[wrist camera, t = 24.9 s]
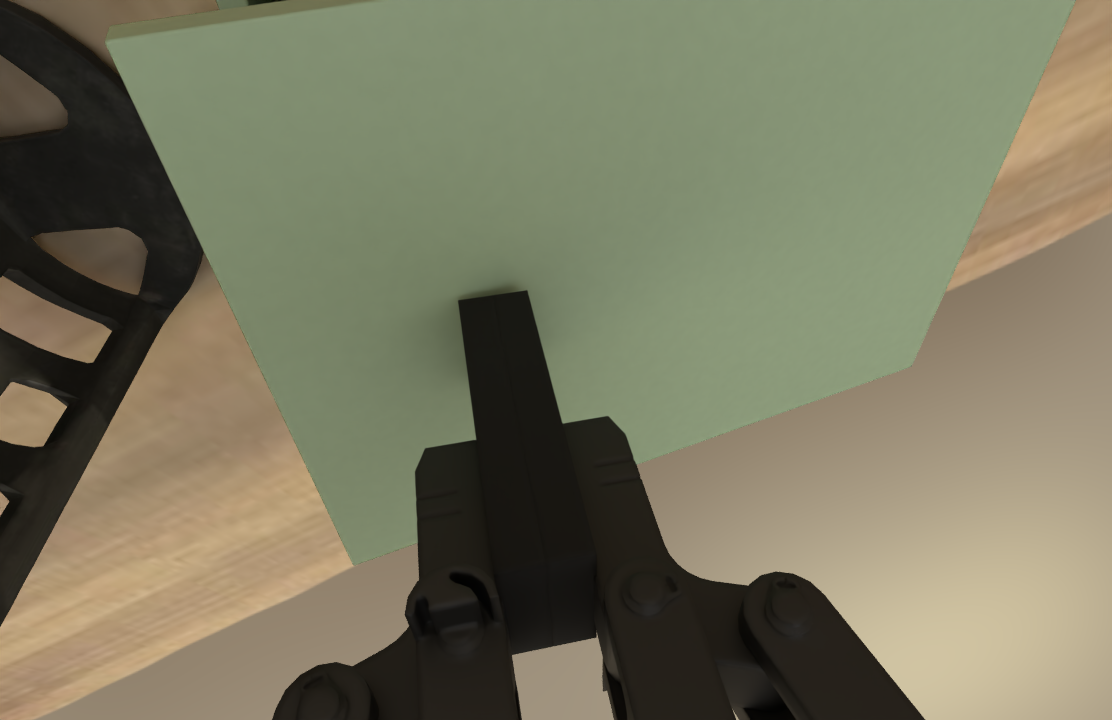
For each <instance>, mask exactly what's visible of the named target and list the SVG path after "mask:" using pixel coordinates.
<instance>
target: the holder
mask: <svg viewBox="0 0 1112 720" xmlns="http://www.w3.org/2000/svg"><path fill="white" fill-rule="evenodd" d="M0 55H2V56H3V57H4V58H6V59H7V60H9V61H10V62H11V63H13V64H14V65H16V66H17V67H18V68H20V69H21V70H22V71H24V72H25V73H27V74H28V75H29V76H31V77H32V78H33V79H35V80H36V81H37V82H39V83H40V84H41V85H43V86H44V87H45V88H47V89H48V90H49V91H51V92H52V93H53V94H55V95H56V96H57V97H58V98H59V99H60V101H61V102H62V104H63V105H64V107H65V109H66V110H67V112H68V125H67V126H66V127H65V128H63V129H58V130H52V131H45V132H39V133H33V134H27V135H20V136H14V137H8V138H1V139H0V277H1V276H2V275H3V276H4V277H6V278H8V279H9V280H11V281H13V282H14V283H16V284H18V285H19V286H21V287H23V288H25V289H26V290H28V291H30V292H32V293H34V294H35V295H37V296H39V297H41V298H43V299H45V300H47V301H49V302H51V303H53V304H55V305H58V306H60V307H62V308H65V309H67V310H69V311H72V312H74V313H76V314H79V315H81V316H83V317H86V318H88V319H91V320H93V321H96V322H99V323H101V324H103V325H104V326H106V327H107V328H109V329H110V330H111V331H112V332H111V334H110V336H109V337H108V339H107V341H106V342H105V344H104V346H103V348H102V349H101V351H100V353H99V354H98V356H97V358H96V359H95V361H94V362H93V363H85V362H81V361H77V360H73V359H69V358H66V357H62V356H60V355H57V354H54V353H52V352H49V351H46V350H43V349H41V348H38V347H36V346H34V345H32V344H30V343H28V342H26V341H24V340H22V339H20V338H18V337H16V336H14V335H11V334H9V333H7V332H5V331H4V330H2V329H1V328H0V396H1V395H2V393H3V392H4V391H5V389H6V388H7V386H8V385H9V384H10V382H16V383H19V384H22V385H25V386H28V387H32V388H35V389H38V390H41V391H45V392H48V393H50V394H51V395H53V396H54V397H55V398H57V399H58V400H59V401H61V402H62V403H63V404H65V405H66V406H67V408H66V410H65V411H64V413H63V415H62V416H61V418H60V419H59V421H58V423H57V424H56V426H55V427H54V429H53V431H52V433H51V434H50V436H49V438H48V439H47V441H46V443H45V444H44V446H43V447H28V446H22V445H15V444H11V443H8V442H5V441H2V440H0V492H1V493H2V494H3V495H4V496H5V497H6V498H7V499H8V500H9V503H8V505H7V506H6V508H5V510H4V511H3V513H2V515H1V516H0V626H1V624H2V623H3V621H4V619H5V617H6V616H7V614H8V612H9V610H10V608H11V607H12V605H13V603H14V601H15V599H16V597H17V595H18V593H19V591H20V589H21V588H22V586H23V584H24V582H25V580H26V578H27V576H28V575H29V573H30V571H31V569H32V567H33V566H34V564H35V562H36V560H37V558H38V556H39V554H40V552H41V550H42V549H43V547H44V545H45V543H46V541H47V539H48V537H49V536H50V534H51V532H52V530H53V528H54V526H55V524H56V522H57V521H58V519H59V517H60V515H61V513H62V511H63V509H64V507H65V505H66V504H67V502H68V500H69V498H70V496H71V495H72V493H73V491H74V489H75V487H76V485H77V484H78V482H79V480H80V478H81V476H82V474H83V473H84V471H85V469H86V467H87V465H88V463H89V461H90V460H91V458H92V456H93V454H94V452H95V450H96V448H97V447H98V445H99V443H100V441H101V439H102V437H103V435H104V433H105V432H106V430H107V428H108V426H109V424H110V422H111V420H112V418H113V416H114V415H115V413H116V411H117V409H118V407H119V405H120V403H121V402H122V400H123V398H124V396H125V394H126V392H127V390H128V389H129V387H130V385H131V383H132V381H133V379H134V377H135V376H136V374H137V372H138V370H139V368H140V366H141V364H142V363H143V361H144V359H145V357H146V355H147V353H148V351H149V349H150V347H151V345H152V343H153V342H154V340H155V338H156V336H157V334H158V333H159V331H160V329H161V327H162V326H163V324H164V322H165V321H166V320H167V318H168V317H169V315H170V314H171V313H172V311H173V310H174V308H175V307H176V306H177V304H178V303H179V302H180V300H181V299H182V298H183V297H184V295H185V294H186V293H187V292H188V290H189V289H190V287H191V285H192V283H193V281H194V279H195V277H196V274H197V272H198V269H199V266H200V264H201V260H202V256H203V252H204V250H203V248H202V246H201V244H200V242H199V240H198V238H197V236H196V234H195V231H194V229H193V227H192V225H191V223H190V221H189V219H188V217H187V215H186V213H185V210H184V208H183V206H182V204H181V202H180V200H179V198H178V196H177V194H176V192H175V189H174V187H173V185H172V183H171V181H170V179H169V177H168V175H167V173H166V171H165V168H164V166H163V164H162V162H161V160H160V158H159V156H158V154H157V152H156V150H155V147H154V145H153V143H152V141H151V139H150V137H149V135H148V133H147V131H146V128H145V126H144V124H143V122H142V120H141V118H140V116H139V114H138V112H137V110H136V107H135V105H134V103H133V101H132V99H131V97H130V95H129V93H128V91H127V89H126V86H125V84H124V82H123V80H122V79H121V78H120V77H119V76H118V75H117V74H116V73H114V72H113V71H112V70H111V69H110V68H109V67H108V66H107V65H106V64H104V63H103V62H102V61H101V60H100V59H99V58H98V57H97V56H96V55H95V54H93V53H92V52H91V51H90V50H89V49H88V48H86V47H85V46H84V45H82V44H81V43H79V42H78V41H76V40H75V39H74V38H72V37H71V36H69V35H68V34H66V33H65V32H64V31H62V30H61V29H59V28H58V27H56V26H55V25H53V24H52V23H50V22H49V21H47V20H46V19H45V18H43V17H42V16H40V15H38V14H36V13H34V12H32V11H29V10H27V9H25V8H23V7H21V6H19V5H17V4H15V3H13V2H11V1H9V0H0ZM113 227H120V228H124V229H128V230H129V231H131V232H132V233H134V234H135V235H137V236H139V237H140V238H142V240H143V242H144V244H145V246H146V248H147V250H148V253H147V260H146V266H145V272H144V276H143V281H142V284H141V288H140V291H139V295H134V294H130V293H126V292H123V291H120V290H117V289H113V288H111V287H108V286H106V285H103V284H101V283H98V282H96V281H94V280H92V279H90V278H88V277H86V276H84V275H82V274H80V273H78V272H76V271H75V270H73V269H71V268H69V267H68V266H66V265H64V264H63V263H61V262H60V261H58V260H57V259H56V258H54V257H53V256H51V255H50V254H48V253H47V252H45V251H44V250H42V249H41V248H40V247H39V246H38V245H37V244H36V242H35V241H34V240H33V239H32V238H31V237H33V236H35V235H38V234H41V233H49V232H60V231H71V230H84V229H100V228H113Z"/></svg>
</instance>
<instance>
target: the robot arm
mask: <svg viewBox="0 0 1112 720" xmlns="http://www.w3.org/2000/svg"><path fill="white" fill-rule="evenodd" d="M458 305H459V313H460V320H461V328H462V336H463V343H464V351H465V358H466V366H467V374H468V381H469V389H470V396H471V404H472V412H473V419H474V427H475V434H476V440H471V441H465V442H459V443H453V444H447V445H441V446H435V447H429V448H425V449H424V452H423V454H422V456H421V459H420V461H419V463H418V466H417V468H416V470H415V488H416V513H417V538H418V562H419V581H417V583H416V585H415V586H414V588H413V590H412V591H411V593H410V594H409V596H408V599H407V605H406V610H405V616H406V619H407V621H408V624H409V627H408V628H407V630H406V631H405V632H404V633H403V634H402V635H401V636H400V637H399V638H398V639H397V640H396V641H395V642H393V643H392V644H390V645H389V646H388V647H386V648H385V649H383V650H381V651H379V652H378V653H376V654H374V655H372V656H370V657H368V658H367V659H365V660H363V661H361V662H360V663H358V664H356V665H354V666H348V665H345V664H341V663H337V662H334V663H328V664H322V665H318V666H316V667H314V668H312V669H310V670H308V671H307V672H305V673H303V674H301V675H300V676H299V677H298V678H297V679H296V680H295V681H294V682H293V683H292V684H291V685H290V686H289V687H288V688H287V689H286V690H285V692H284V694H283V696H282V698H281V700H280V702H279V704H278V706H277V708H276V710H275V713H274V716H273V719H272V720H522V718H521V711H520V704H519V697H518V691H517V686H516V681H515V674H514V667H513V661H512V655H514V654H519V653H523V652H528V651H532V650H538V649H542V648H548V647H552V646H557V645H562V644H567V643H572V642H576V641H581V640H586V639H591V638H596V630H597V634H598V638H599V643H600V647H601V651H602V655H603V675H602V677H603V691H608V695H609V700H610V704H611V708H612V713H613V717H614V720H736V718H735V715H734V713H733V710H734V712H735V714H736V715H737V717H738V719H739V720H925V719H924V718H923V717H922V715H921V714H920V713H919V712H918V710H917V709H916V708H915V706H914V705H913V704H912V703H911V702H910V700H909V699H908V698H907V697H906V695H905V694H904V693H903V692H902V691H901V689H900V688H899V687H898V685H897V684H896V683H895V682H894V680H893V679H892V678H891V677H890V676H889V674H888V673H887V672H886V671H885V669H884V668H883V667H882V666H881V664H880V663H879V662H878V661H877V659H876V658H875V657H874V656H873V654H872V653H871V652H870V651H869V650H868V648H867V647H866V646H865V645H864V643H863V642H862V641H861V640H860V639H859V637H858V636H857V635H856V634H855V632H854V631H853V630H852V629H851V627H850V626H849V625H848V624H847V622H846V621H845V620H844V619H843V618H842V616H841V615H840V614H839V612H838V611H837V610H836V609H835V608H834V606H833V605H832V604H831V602H830V601H829V600H828V599H827V597H826V596H825V595H824V594H823V593H822V592H821V591H820V590H819V589H817V588H816V587H815V586H814V585H813V584H812V583H811V582H809V581H808V580H805V579H803V578H801V577H799V576H797V575H795V574H791V573H783V572H773V573H769V574H764V575H761V576H759V577H758V578H757V579H756V580H754V581H753V582H752V583H751V584H749V586H747V585H738V584H731V583H723V582H715V581H710V580H706V579H702V578H699V577H697V576H695V575H692V574H690V573H688V572H687V571H686V570H684V569H683V568H682V567H680V566H679V565H678V564H677V563H676V562H675V561H674V559H673V558H672V557H671V556H670V555H669V553H668V551H667V549H666V547H665V545H664V542H663V539H662V536H661V534H660V531H659V528H658V525H657V522H656V519H655V516H654V514H653V511H652V508H651V505H650V502H649V500H648V496H647V494H646V491H645V488H644V485H643V482H642V480H641V479H640V474H639V471H638V468H637V465H636V462H635V461H634V458H633V454H632V451H631V448H630V445H629V442H628V440H627V437H626V434H625V433H624V432H623V431H622V430H621V429H620V428H619V427H618V426H617V425H616V424H615V422H614V421H613V420H612V419H611V418H610V417H609V416H604V417H598V418H592V419H586V420H581V421H575V422H569V423H563V424H562V420H561V416H560V412H559V408H558V405H557V401H556V397H555V393H554V389H553V386H552V382H551V378H550V374H549V370H548V367H547V363H546V359H545V355H544V351H543V348H542V344H541V340H540V336H539V332H538V329H537V325H536V321H535V317H534V313H533V310H532V306H531V302H530V298H529V295H528V291H527V290H525V291H518V292H511V293H504V294H498V295H491V296H484V297H477V298H470V299H463V300H458ZM732 709H733V710H732Z"/></svg>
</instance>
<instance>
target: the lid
mask: <svg viewBox="0 0 1112 720" xmlns="http://www.w3.org/2000/svg"><path fill="white" fill-rule="evenodd" d="M1075 1H1076V0H286V1H279V2H272V3H265V4H258V5H251V6H244V7H237V8H230V9H223V10H216V11H209V12H202V13H195V14H188V15H181V16H174V17H167V18H160V19H153V20H146V21H139V22H132V23H125V24H118V25H112V26H110V27H109V30H108V33H107V36H106V39H105V44H106V47H107V49H108V51H109V53H110V55H111V57H112V59H113V61H114V63H115V65H116V68H117V70H118V72H119V74H120V76H121V78H122V80H123V82H124V84H125V86H126V89H127V91H128V93H129V95H130V97H131V99H132V101H133V103H134V105H135V107H136V110H137V112H138V114H139V116H140V118H141V120H142V122H143V124H144V126H145V128H146V131H147V133H148V135H149V137H150V139H151V141H152V143H153V145H154V147H155V150H156V152H157V154H158V156H159V158H160V160H161V162H162V164H163V166H164V168H165V171H166V173H167V175H168V177H169V179H170V181H171V183H172V185H173V187H174V189H175V192H176V194H177V196H178V198H179V200H180V202H181V204H182V206H183V208H184V210H185V213H186V215H187V217H188V219H189V221H190V223H191V225H192V227H193V229H194V231H195V234H196V236H197V238H198V240H199V242H200V244H201V246H202V248H203V250H204V252H205V255H206V257H207V259H208V261H209V263H210V265H211V267H212V269H213V271H214V274H215V276H216V278H217V280H218V282H219V284H220V286H221V288H222V290H223V292H224V295H225V297H226V299H227V301H228V303H229V305H230V307H231V309H232V311H233V313H234V316H235V318H236V320H237V322H238V324H239V326H240V328H241V330H242V332H243V334H244V337H245V339H246V341H247V343H248V345H249V347H250V349H251V351H252V353H253V355H254V358H255V360H256V362H257V364H258V366H259V368H260V370H261V372H262V374H263V376H264V379H265V381H266V383H267V385H268V387H269V389H270V391H271V393H272V395H273V397H274V400H275V402H276V404H277V406H278V408H279V410H280V412H281V414H282V416H283V419H284V421H285V423H286V425H287V427H288V429H289V431H290V433H291V435H292V437H293V440H294V442H295V444H296V446H297V448H298V450H299V452H300V454H301V456H302V458H303V461H304V463H305V465H306V467H307V469H308V471H309V473H310V475H311V477H312V479H313V482H314V484H315V486H316V488H317V490H318V492H319V494H320V496H321V498H322V500H323V503H324V505H325V507H326V509H327V511H328V513H329V515H330V517H331V519H332V521H333V524H334V526H335V528H336V530H337V532H338V534H339V536H340V538H341V540H342V543H343V545H344V547H345V549H346V551H347V553H348V555H349V557H350V559H351V561H352V564H353V565H358V564H360V563H363V562H366V561H369V560H372V559H374V558H377V557H380V556H383V555H386V554H388V553H391V552H394V551H397V550H399V549H402V548H405V547H408V546H411V545H414V544H416V543H418V538H417V513H416V488H415V470H416V468H417V466H418V463H419V461H420V459H421V456H422V454H423V452H424V449H425V448H429V447H435V446H441V445H447V444H453V443H459V442H465V441H471V440H476V434H475V427H474V419H473V412H472V404H471V396H470V389H469V381H468V374H467V366H466V358H465V351H464V343H463V336H462V328H461V320H460V313H459V305H458V300H463V299H470V298H477V297H484V296H491V295H498V294H504V293H511V292H518V291H525V290H527V291H528V295H529V298H530V302H531V306H532V310H533V313H534V317H535V321H536V325H537V329H538V332H539V336H540V340H541V344H542V348H543V351H544V355H545V359H546V363H547V367H548V370H549V374H550V378H551V382H552V386H553V389H554V393H555V397H556V401H557V405H558V408H559V412H560V416H561V420H562V424H563V423H569V422H575V421H581V420H586V419H592V418H598V417H604V416H609V417H610V418H611V419H612V420H613V421H614V422H615V424H616V425H617V426H618V427H619V428H620V429H621V430H622V431H623V432H624V433H625V434H626V437H627V440H628V442H629V445H630V448H631V451H632V454H633V458H634V461H635V462H636V465H637V464H640V463H643V462H646V461H648V460H651V459H654V458H657V457H660V456H662V455H665V454H668V453H671V452H674V451H676V450H679V449H682V448H685V447H688V446H690V445H693V444H696V443H699V442H702V441H705V440H707V439H710V438H713V437H716V436H718V435H721V434H724V433H727V432H729V431H732V430H735V429H738V428H741V427H744V426H746V425H749V424H752V423H755V422H757V421H760V420H763V419H766V418H769V417H772V416H774V415H777V414H780V413H783V412H786V411H788V410H791V409H794V408H797V407H800V406H802V405H805V404H808V403H811V402H814V401H816V400H819V399H822V398H825V397H828V396H830V395H833V394H836V393H839V392H842V391H844V390H847V389H850V388H852V387H856V386H858V385H861V384H864V383H867V382H870V381H872V380H875V379H878V378H880V377H884V376H886V375H889V374H892V373H895V372H898V371H900V370H903V369H906V368H909V367H911V366H912V364H913V362H914V360H915V357H916V355H917V353H918V351H919V348H920V346H921V344H922V342H923V339H924V337H925V335H926V333H927V331H928V328H929V326H930V324H931V322H932V320H933V317H934V315H935V313H936V311H937V308H938V306H939V304H940V302H941V299H942V297H943V295H944V293H945V291H946V288H947V286H948V284H949V282H950V280H951V277H952V275H953V273H954V271H955V268H956V266H957V264H958V262H959V259H960V257H961V255H962V253H963V251H964V248H965V246H966V244H967V242H968V239H969V237H970V235H971V233H972V231H973V228H974V226H975V224H976V222H977V219H978V217H979V215H980V213H981V211H982V208H983V206H984V204H985V202H986V199H987V197H988V195H989V193H990V191H991V188H992V186H993V184H994V182H995V179H996V177H997V175H998V173H999V170H1000V168H1001V166H1002V164H1003V162H1004V159H1005V157H1006V155H1007V153H1008V150H1009V148H1010V146H1011V144H1012V142H1013V139H1014V137H1015V135H1016V133H1017V130H1018V128H1019V126H1020V124H1021V122H1022V119H1023V117H1024V115H1025V113H1026V110H1027V108H1028V106H1029V104H1030V101H1031V99H1032V97H1033V95H1034V93H1035V90H1036V88H1037V86H1038V84H1039V81H1040V79H1041V77H1042V75H1043V73H1044V70H1045V68H1046V66H1047V64H1048V61H1049V59H1050V57H1051V55H1052V53H1053V50H1054V48H1055V46H1056V44H1057V41H1058V39H1059V37H1060V35H1061V33H1062V30H1063V28H1064V26H1065V24H1066V21H1067V19H1068V17H1069V15H1070V12H1071V10H1072V8H1073V6H1074V4H1075Z"/></svg>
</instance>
